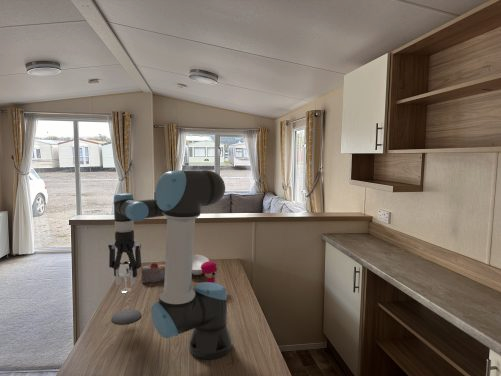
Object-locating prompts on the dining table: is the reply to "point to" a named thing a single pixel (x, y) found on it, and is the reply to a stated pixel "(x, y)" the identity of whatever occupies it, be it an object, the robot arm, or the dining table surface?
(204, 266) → the toy
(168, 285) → the robot arm
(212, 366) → the dining table surface
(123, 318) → the coaster
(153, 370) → the dining table surface
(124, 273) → the wineglass
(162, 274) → the food item
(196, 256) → the bowl
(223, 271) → the dining table surface
